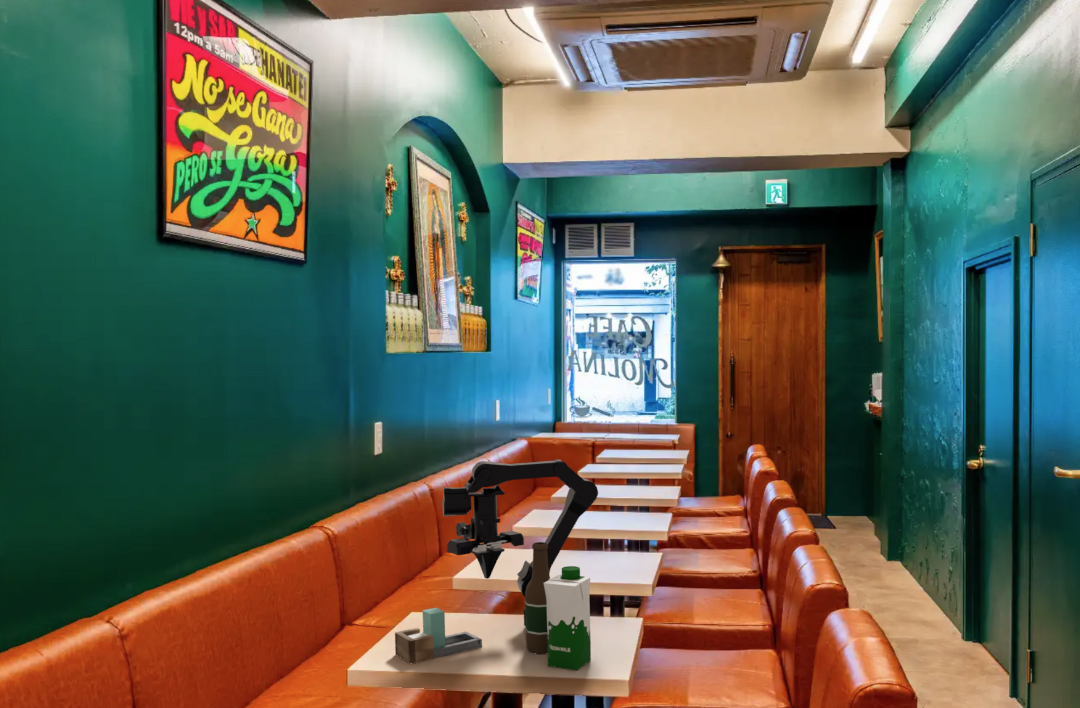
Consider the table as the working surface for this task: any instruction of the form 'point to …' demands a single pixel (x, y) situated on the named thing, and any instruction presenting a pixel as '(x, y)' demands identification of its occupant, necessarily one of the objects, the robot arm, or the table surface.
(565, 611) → the milk carton
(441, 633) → the teal block
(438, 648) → the rails
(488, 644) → the table surface
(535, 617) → the beer bottle
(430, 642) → the socket
